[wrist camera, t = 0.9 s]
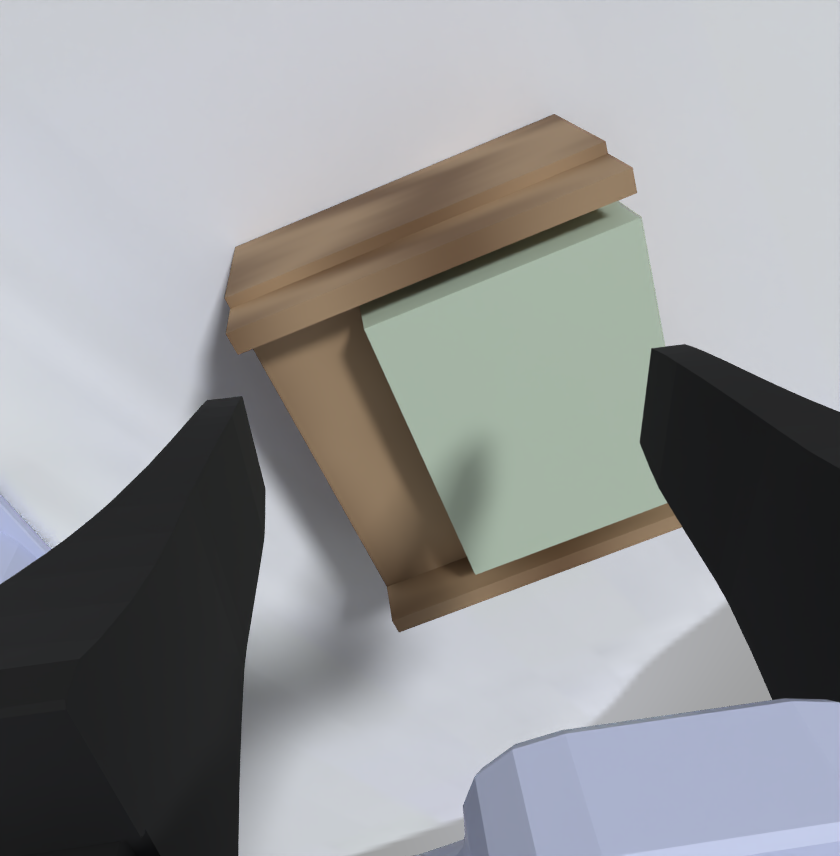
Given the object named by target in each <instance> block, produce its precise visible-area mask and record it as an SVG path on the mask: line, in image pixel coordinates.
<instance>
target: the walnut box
mask: <svg viewBox="0 0 840 856" xmlns="http://www.w3.org/2000/svg"><path fill="white" fill-rule="evenodd" d="M636 193H637V190H636V184H635V179H634V173H633V168H632V167H631V166H629V165H627V164H625V163H624V162H622V161H620V160H618V159H617V158H615V157H613V156H611V155H610V154H608V152H607V147H606V142H605V141H604V140H602V139H600V138H598V137H596V136H595V135H593V134H591V133H589V132H587V131H585V130H583V129H581V128H580V127H578V126H576V125H574V124H572V123H570V122H568V121H566V120H565V119H563V118H561V117H559V116H557V115H555V114H553V115H551V116H549V117H546V118H544V119H541V120H539V121H537V122H534V123H532V124H529V125H527V126H525V127H522V128H520V129H517V130H515V131H513V132H510V133H508V134H505V135H503V136H501V137H498V138H496V139H493V140H491V141H489V142H486V143H484V144H481V145H479V146H477V147H474V148H472V149H469V150H467V151H465V152H462V153H460V154H457V155H455V156H453V157H450V158H448V159H445V160H443V161H441V162H438V163H436V164H433V165H431V166H429V167H426V168H424V169H422V170H419V171H417V172H414V173H412V174H410V175H407V176H405V177H402V178H400V179H398V180H395V181H393V182H390V183H388V184H386V185H383V186H381V187H378V188H376V189H374V190H371V191H369V192H366V193H364V194H362V195H359V196H357V197H354V198H352V199H350V200H347V201H345V202H342V203H340V204H338V205H335V206H333V207H330V208H328V209H326V210H323V211H321V212H318V213H316V214H314V215H311V216H309V217H306V218H304V219H302V220H299V221H297V222H294V223H292V224H290V225H287V226H285V227H282V228H280V229H278V230H275V231H273V232H270V233H268V234H266V235H263V236H261V237H258V238H256V239H254V240H251V241H249V242H246V243H244V244H242V245H239V246H237V247H235V251H234V256H233V261H232V265H231V270H230V275H229V279H228V284H227V289H226V294H225V300H226V302H227V304H228V305H229V307H230V313H229V318H228V324H227V329H226V335H227V337H228V339H229V340H230V342H231V344H232V346H233V347H234V349H235V351H236V353H237V354H238V355H239V354H241V353H244V352H246V351H249V350H251V349H253V350H254V352H255V353H256V355H257V357H258V359H259V360H260V362H261V364H262V366H263V368H264V369H265V371H266V373H267V375H268V376H269V378H270V380H271V382H272V384H273V385H274V387H275V389H276V391H277V392H278V394H279V396H280V398H281V400H282V401H283V403H284V405H285V407H286V408H287V410H288V412H289V414H290V415H291V417H292V419H293V421H294V423H295V424H296V426H297V428H298V430H299V431H300V433H301V435H302V437H303V439H304V440H305V442H306V444H307V446H308V447H309V449H310V451H311V453H312V455H313V456H314V458H315V460H316V462H317V463H318V465H319V467H320V469H321V470H322V472H323V474H324V476H325V478H326V479H327V481H328V483H329V485H330V486H331V488H332V490H333V492H334V494H335V495H336V497H337V499H338V501H339V502H340V504H341V506H342V508H343V510H344V511H345V513H346V515H347V517H348V518H349V520H350V522H351V524H352V526H353V527H354V529H355V531H356V533H357V534H358V536H359V538H360V540H361V541H362V543H363V545H364V547H365V549H366V550H367V552H368V554H369V556H370V557H371V559H372V561H373V563H374V565H375V566H376V568H377V570H378V572H379V573H380V575H381V577H382V579H383V581H384V582H385V584H386V586H387V590H388V596H389V603H390V609H391V616H392V621H393V623H394V625H395V626H396V628H397V630H398V632H401V631H404V630H407V629H409V628H412V627H415V626H417V625H420V624H423V623H425V622H428V621H431V620H434V619H436V618H439V617H442V616H444V615H447V614H450V613H452V612H455V611H458V610H460V609H463V608H466V607H469V606H471V605H474V604H477V603H479V602H482V601H485V600H487V599H490V598H493V597H495V596H498V595H501V594H503V593H506V592H509V591H512V590H514V589H517V588H520V587H522V586H525V585H528V584H530V583H533V582H536V581H538V580H541V579H544V578H546V577H549V576H552V575H555V574H557V573H560V572H563V571H565V570H568V569H571V568H573V567H576V566H579V565H581V564H584V563H587V562H590V561H592V560H595V559H598V558H600V557H603V556H606V555H608V554H611V553H614V552H616V551H619V550H622V549H624V548H627V547H630V546H633V545H635V544H638V543H641V542H643V541H646V540H649V539H651V538H654V537H657V536H659V535H662V534H665V533H667V532H670V531H673V530H676V529H678V528H681V527H682V526H681V524H680V523H679V521H678V519H677V518H676V516H675V514H674V513H673V511H672V509H671V508H670V506H669V505H668V503H666V504H664V505H661V506H658V507H656V508H653V509H650V510H648V511H645V512H642V513H640V514H637V515H634V516H632V517H629V518H626V519H624V520H621V521H618V522H616V523H613V524H610V525H608V526H605V527H602V528H600V529H597V530H594V531H592V532H589V533H586V534H584V535H581V536H578V537H575V538H573V539H570V540H567V541H565V542H562V543H559V544H557V545H554V546H551V547H549V548H546V549H543V550H541V551H538V552H535V553H533V554H530V555H527V556H525V557H522V558H519V559H517V560H514V561H511V562H509V563H506V564H503V565H501V566H498V567H495V568H493V569H490V570H487V571H485V572H482V573H479V574H477V575H475V573H474V571H473V569H472V566H471V564H470V562H469V560H468V557H467V555H466V553H465V551H464V549H463V546H462V544H461V542H460V540H459V538H458V535H457V533H456V531H455V529H454V527H453V524H452V522H451V520H450V518H449V516H448V513H447V511H446V509H445V507H444V504H443V502H442V500H441V498H440V496H439V493H438V491H437V489H436V487H435V485H434V482H433V480H432V478H431V476H430V474H429V471H428V469H427V467H426V465H425V463H424V460H423V458H422V456H421V454H420V451H419V449H418V447H417V445H416V443H415V440H414V438H413V436H412V434H411V432H410V429H409V427H408V425H407V423H406V421H405V418H404V416H403V414H402V412H401V410H400V407H399V405H398V403H397V401H396V398H395V396H394V394H393V392H392V390H391V387H390V385H389V383H388V381H387V379H386V376H385V374H384V372H383V370H382V368H381V365H380V363H379V361H378V359H377V357H376V354H375V352H374V350H373V348H372V345H371V343H370V341H369V339H368V337H367V334H366V332H365V330H364V326H363V321H362V316H361V311H360V305H362V304H365V303H367V302H369V301H372V300H374V299H377V298H379V297H382V296H384V295H387V294H389V293H392V292H394V291H397V290H399V289H401V288H404V287H406V286H409V285H411V284H414V283H416V282H419V281H421V280H424V279H426V278H429V277H431V276H434V275H436V274H438V273H441V272H443V271H446V270H448V269H451V268H453V267H456V266H458V265H461V264H463V263H466V262H468V261H470V260H473V259H475V258H478V257H480V256H483V255H485V254H488V253H490V252H493V251H495V250H498V249H500V248H502V247H505V246H507V245H510V244H512V243H515V242H517V241H520V240H522V239H525V238H527V237H530V236H532V235H535V234H537V233H539V232H542V231H544V230H547V229H549V228H552V227H554V226H557V225H559V224H562V223H564V222H567V221H569V220H571V219H574V218H576V217H579V216H581V215H584V214H586V213H589V212H591V211H594V210H596V209H599V208H601V207H604V206H606V205H608V204H611V203H613V202H616V201H618V200H621V199H623V198H626V197H628V196H631V195H633V194H636Z"/></svg>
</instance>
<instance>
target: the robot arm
mask: <svg viewBox="0 0 840 856" xmlns="http://www.w3.org/2000/svg"><path fill="white" fill-rule="evenodd" d="M639 443H640V445H641V448H642V450H643V453H644V455H645V458H646V460H647V463H648V465H649V468H650V470H651V472H652V474H653V477H654V479H655V481H656V483H657V486H658V488H659V489H660V491H661V493H662V495H663V496H664V498H665V500H666V501H667V503H668V505H669V506H670V508H671V509H672V511H673V513H674V514H675V516H676V518H677V519H678V521H679V523H680V524H681V526H682V527H683V529H684V531H685V532H686V534H687V535H688V537H689V539H690V540H691V542H692V543H693V545H694V547H695V548H696V550H697V551H698V553H699V555H700V556H701V558H702V559H703V561H704V563H705V564H706V566H707V567H708V569H709V571H710V572H711V574H712V575H713V577H714V579H715V580H716V582H717V584H718V585H719V587H720V589H721V591H722V593H723V594H724V596H725V598H726V600H727V602H728V603H729V605H730V607H731V610H732V612H733V614H734V616H735V618H736V620H737V622H738V624H739V626H740V629H741V631H742V633H743V635H744V637H745V639H746V641H747V643H748V645H749V648H750V650H751V652H752V654H753V656H754V659H755V661H756V663H757V665H758V668H759V670H760V672H761V675H762V677H763V679H764V682H765V684H766V686H767V688H768V691H769V693H770V695H771V698H772V700H770V701H763V702H756V703H749V704H742V705H735V706H729V707H721V708H714V709H707V710H700V711H694V712H686V713H679V714H672V715H665V716H659V717H651V718H644V719H637V720H630V721H624V722H617V723H609V724H602V725H595V726H588V727H581V728H575V729H568V730H561V731H558V732H555V733H551V734H548V735H544V736H541V737H538V738H534V739H531V740H528V741H524V742H521V743H518V744H515V745H513V746H512V747H511V748H509V749H508V750H507V751H505V752H504V753H502V754H501V755H500V756H498V757H497V758H495V759H494V760H493V761H491V762H490V763H489V764H487V765H486V766H484V767H483V768H482V769H481V770H480V771H479V772H478V773H477V775H476V776H475V777H474V780H473V782H472V785H471V787H470V790H469V792H468V795H467V797H466V800H465V802H464V804H463V813H464V827H465V837H464V839H463V840H460V841H458V842H454V843H452V844H449V845H446V846H443V847H440V848H437V849H434V850H431V851H428V852H425V853H422V854H419V855H414V856H840V412H838V411H836V410H833V409H831V408H828V407H826V406H823V405H821V404H818V403H816V402H814V401H811V400H809V399H806V398H804V397H802V396H800V395H797V394H795V393H793V392H790V391H788V390H786V389H784V388H782V387H779V386H777V385H775V384H773V383H771V382H769V381H766V380H764V379H762V378H760V377H758V376H756V375H754V374H752V373H749V372H747V371H745V370H743V369H741V368H739V367H737V366H735V365H733V364H731V363H728V362H726V361H724V360H722V359H720V358H718V357H715V356H713V355H711V354H709V353H707V352H704V351H702V350H699V349H697V348H694V347H691V346H689V345H685V344H684V345H675V346H667V347H658V348H651V355H650V363H649V371H648V379H647V387H646V395H645V403H644V410H643V418H642V426H641V434H640V442H639ZM264 534H265V486H264V482H263V478H262V474H261V470H260V466H259V462H258V458H257V454H256V450H255V446H254V442H253V438H252V434H251V430H250V426H249V422H248V418H247V414H246V410H245V406H244V402H243V398H242V396H241V397H232V398H224V399H215V400H207V401H206V402H205V403H204V404H203V405H202V406H201V407H200V408H199V409H198V410H197V411H196V413H195V414H194V415H193V416H192V417H191V418H190V419H189V421H188V422H187V423H186V424H185V425H184V426H183V427H182V429H181V430H180V431H179V432H178V433H177V434H176V435H175V437H174V438H173V439H172V440H171V441H170V442H169V443H168V444H167V445H166V446H165V448H164V449H163V450H162V451H161V452H160V453H159V454H158V455H157V456H156V457H155V459H154V460H153V461H152V462H151V463H150V464H149V465H148V466H147V467H146V468H145V469H144V470H143V471H142V472H141V473H140V474H139V475H138V476H137V477H136V478H135V479H134V480H133V481H132V482H131V483H130V484H129V485H128V486H127V487H126V488H125V489H124V490H122V491H121V492H120V493H119V494H118V495H117V496H116V497H115V498H114V499H113V500H112V501H111V502H110V503H109V504H108V505H107V506H106V507H104V508H103V509H102V510H101V511H100V512H99V513H97V514H96V515H95V516H94V517H93V518H92V519H90V520H89V521H88V522H87V523H85V524H84V525H83V526H82V527H80V528H79V529H78V530H77V531H75V532H74V533H73V534H72V535H70V536H69V537H68V538H67V539H65V540H64V541H63V542H61V543H60V544H59V545H57V546H56V547H54V548H53V549H50V548H49V547H48V545H47V544H46V543H45V542H44V541H43V540H42V539H41V538H40V537H39V536H38V535H37V533H36V532H35V531H34V530H33V529H32V528H31V527H30V526H29V525H28V524H27V523H26V522H25V520H24V519H23V518H22V517H21V516H20V515H19V514H18V513H17V512H16V511H15V510H14V508H13V507H12V506H11V505H10V504H9V503H8V502H7V501H6V500H5V499H4V498H3V497H2V495H1V494H0V856H238V835H239V779H240V750H241V722H242V702H243V683H244V667H245V658H246V650H247V642H248V636H249V630H250V624H251V618H252V612H253V606H254V600H255V594H256V588H257V582H258V575H259V569H260V563H261V556H262V550H263V543H264Z"/></svg>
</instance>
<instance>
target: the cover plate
mask: <svg viewBox="0 0 840 856" xmlns="http://www.w3.org/2000/svg"><path fill="white" fill-rule="evenodd" d="M360 311H361V316H362V321H363V326H364V330H365V332H366V334H367V337H368V339H369V341H370V343H371V345H372V348H373V350H374V352H375V354H376V357H377V359H378V361H379V363H380V365H381V368H382V370H383V372H384V374H385V376H386V379H387V381H388V383H389V385H390V387H391V390H392V392H393V394H394V396H395V398H396V401H397V403H398V405H399V407H400V410H401V412H402V414H403V416H404V418H405V421H406V423H407V425H408V427H409V429H410V432H411V434H412V436H413V438H414V440H415V443H416V445H417V447H418V449H419V451H420V454H421V456H422V458H423V460H424V463H425V465H426V467H427V469H428V471H429V474H430V476H431V478H432V480H433V482H434V485H435V487H436V489H437V491H438V493H439V496H440V498H441V500H442V502H443V504H444V507H445V509H446V511H447V513H448V516H449V518H450V520H451V522H452V524H453V527H454V529H455V531H456V533H457V535H458V538H459V540H460V542H461V544H462V546H463V549H464V551H465V553H466V555H467V557H468V560H469V562H470V564H471V566H472V569H473V571H474V573H475V575H477V574H479V573H482V572H485V571H487V570H490V569H493V568H495V567H498V566H501V565H503V564H506V563H509V562H511V561H514V560H517V559H519V558H522V557H525V556H527V555H530V554H533V553H535V552H538V551H541V550H543V549H546V548H549V547H551V546H554V545H557V544H559V543H562V542H565V541H567V540H570V539H573V538H575V537H578V536H581V535H584V534H586V533H589V532H592V531H594V530H597V529H600V528H602V527H605V526H608V525H610V524H613V523H616V522H618V521H621V520H624V519H626V518H629V517H632V516H634V515H637V514H640V513H642V512H645V511H648V510H650V509H653V508H656V507H658V506H661V505H664V504H666V503H667V501H666V500H665V498H664V496H663V495H662V493H661V491H660V489H659V488H658V486H657V483H656V481H655V479H654V477H653V474H652V472H651V470H650V468H649V465H648V463H647V460H646V458H645V455H644V453H643V450H642V448H641V445H640V443H639V442H640V434H641V426H642V418H643V410H644V403H645V395H646V387H647V379H648V371H649V363H650V355H651V348H658V347H665V343H664V337H663V332H662V326H661V321H660V315H659V310H658V304H657V299H656V293H655V288H654V283H653V277H652V272H651V266H650V261H649V255H648V250H647V244H646V239H645V233H644V228H643V222H642V217H641V216H639V215H638V214H636V213H635V212H633V211H632V210H630V209H629V208H628V207H626V206H625V205H623V204H622V203H620V202H619V201H616V202H613V203H611V204H608V205H606V206H604V207H601V208H599V209H596V210H594V211H591V212H589V213H586V214H584V215H581V216H579V217H576V218H574V219H571V220H569V221H567V222H564V223H562V224H559V225H557V226H554V227H552V228H549V229H547V230H544V231H542V232H539V233H537V234H535V235H532V236H530V237H527V238H525V239H522V240H520V241H517V242H515V243H512V244H510V245H507V246H505V247H502V248H500V249H498V250H495V251H493V252H490V253H488V254H485V255H483V256H480V257H478V258H475V259H473V260H470V261H468V262H466V263H463V264H461V265H458V266H456V267H453V268H451V269H448V270H446V271H443V272H441V273H438V274H436V275H434V276H431V277H429V278H426V279H424V280H421V281H419V282H416V283H414V284H411V285H409V286H406V287H404V288H401V289H399V290H397V291H394V292H392V293H389V294H387V295H384V296H382V297H379V298H377V299H374V300H372V301H369V302H367V303H365V304H362V305H360Z"/></svg>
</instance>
